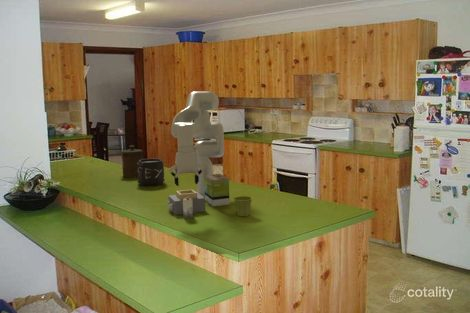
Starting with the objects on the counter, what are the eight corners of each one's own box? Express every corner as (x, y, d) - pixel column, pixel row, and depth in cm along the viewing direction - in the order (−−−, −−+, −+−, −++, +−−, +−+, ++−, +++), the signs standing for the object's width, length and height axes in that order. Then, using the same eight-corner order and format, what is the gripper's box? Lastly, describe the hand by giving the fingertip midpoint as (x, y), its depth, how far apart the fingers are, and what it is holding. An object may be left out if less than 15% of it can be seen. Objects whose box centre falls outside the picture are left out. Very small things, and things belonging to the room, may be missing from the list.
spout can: (191, 215, 251) (190, 195, 249) (194, 217, 246) (193, 197, 245) (182, 216, 249) (181, 196, 248) (184, 218, 245) (183, 198, 243)
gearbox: (198, 205, 271) (197, 187, 270) (205, 211, 258) (205, 193, 257) (166, 208, 265) (165, 191, 264) (171, 215, 252) (171, 196, 251)
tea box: (204, 200, 281) (203, 174, 279) (221, 198, 284) (220, 173, 282) (212, 206, 267) (211, 179, 265) (230, 204, 270) (229, 177, 268)
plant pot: (229, 215, 249) (229, 198, 248) (243, 211, 256) (242, 195, 254) (243, 218, 243) (242, 201, 241) (256, 214, 249) (256, 197, 248)
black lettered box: (132, 186, 323) (131, 162, 320) (144, 181, 340) (142, 158, 337) (158, 187, 318) (157, 163, 316) (169, 181, 336) (167, 158, 333)
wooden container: (131, 173, 370) (129, 143, 367) (148, 174, 364) (146, 144, 360) (118, 176, 357) (116, 146, 354) (135, 178, 351) (133, 146, 347)
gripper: (200, 147, 249) (201, 181, 251) (166, 150, 243) (167, 184, 245) (205, 149, 242) (206, 184, 244) (169, 151, 236) (171, 187, 238)
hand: (186, 184), depth 245 cm, fingers open, 9 cm apart
